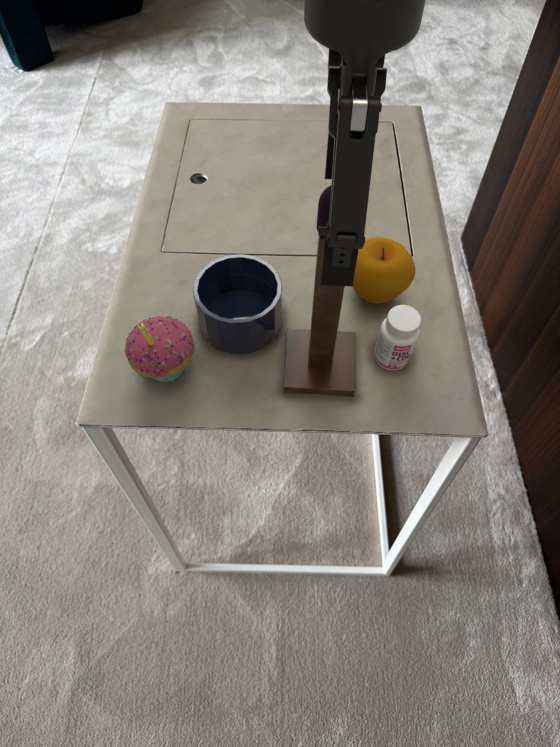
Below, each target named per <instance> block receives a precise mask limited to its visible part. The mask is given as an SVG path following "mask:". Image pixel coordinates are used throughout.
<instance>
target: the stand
mask: <svg viewBox="0 0 560 747" xmlns="http://www.w3.org/2000/svg"><path fill="white" fill-rule="evenodd" d="M317 236H318V237H317V248H316V260H315V261H316V262H315V272H314V285H313V296H312V305H311V306H312V309H311V319H310V329H302V328H287V329H286V340H285V352H284V353H285V354H284V367H283V379H282V381H283V382H282V393H285V394H299V395H301V394H302V395H316V396H331V397H347V398H349V397H351V398H353V397H355V393H356V332H355V331H338V329H339V325H340V319H341V318H340V317H341V312H342V305H343V298H344V292H345V287H346V286H329V285H321V275H322V264H323V254H324V243H325V239H324V238H323V237H321V236H320V235H317Z"/></svg>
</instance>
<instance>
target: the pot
mask: <svg viewBox="0 0 560 747" xmlns="http://www.w3.org/2000/svg"><path fill="white" fill-rule="evenodd" d="M279 274H280V273H279V272H278V271H277V270H276V269H275V268H274V267H273V266H272V265H271V263H269V262H268V261H265V260H263V259H262V258H260V257H258V256H254V255H248V254H243V253H240V254H228V255H225V256H221V257H219V258H215V259H213V260H212V261H210V262H208V263H207V264H206V265H204V266H203V267H202V268H201V269H200V271H199V272H198V274H197V275H196V277H194V282H193V287H192V294H193V300H194V305H195V309H196V314H197V318H198V319H197V320H198V323H199V327H200V331H201V334H202V335H203V337H204V339H205V340H206V341H207V342H208V344H210V345H211V346H212V347H213V348H214V349H216V350H219V351H221V352H224V353H227V354H232V355H247V354H252V353H255V352H259V351H260V350H263V349H265V348H266V347H267V346H269V345H270V344H272V342H274V340H275V339H276V338H277V336H278V335H279V332H280V330H281V327H282V319H283V282H282V280H281V277H280V275H279Z"/></svg>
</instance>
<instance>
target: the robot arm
mask: <svg viewBox="0 0 560 747" xmlns="http://www.w3.org/2000/svg"><path fill="white" fill-rule="evenodd" d="M426 1H427V0H304V6H303V8H304V10H303V21H304V26H305V29H306V31H307V33H308V34H309V35H310V36H311V38H312V39H313V40H314V41H315V42H317V44H319V45H321V46H323V47H325V48H326V49H328V57H327V70H328V71H327V84H326V92H327V94H328V96H329V107H328V108H329V109H328V122H327V124H328V126H327V131H328V133H327V146H326V156H325V170H324V179H325V180H331V183H330V185H331V198H330V213H329V222H326V227H319V228H318V231H317V236H319V235H320V236H325V243H324V254H323V264H322V275H321V285H329V286H345V287H350V288H353V287H352V286H353V280H354V274H355V269H356V263H357V257H358V251H359V249H362V248H363V247H364V244H365V240H366V236H365V232H366V225H367V224H366V223H367V215H368V205H369V197H370V190H371V189H370V188H371V180H372V172H373V171H372V170H373V162H374V152H375V144H376V137H377V133H378V131H379V122H380V113H382V109H383V103H382V96H383V95H384V93H385V92H386V86H387V75H388V68H387V67H384V66H385V61H386V55H387V54H389V53H391V52H395V51H399V50H400V49H402V48H404V47H406V46H408V44H410V43H411V42H412V41H413V40H414V39H415V38H416V36H417V35H418V33H419V31H420V28H421V25H422V24H421V23H422V21H423V16H424V11H425V6H426Z"/></svg>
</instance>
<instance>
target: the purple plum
mask: <svg viewBox="0 0 560 747" xmlns="http://www.w3.org/2000/svg"><path fill="white" fill-rule="evenodd" d="M330 198H331V184H330V185H328V186H327V187H325V189H324V190H323V191H322V192H321V194H320V196H319V198H318V204H317V216H316V232H318V228H319V227H326V222H329V213H330ZM321 237H323V238H324V239H325V236H321Z"/></svg>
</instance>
